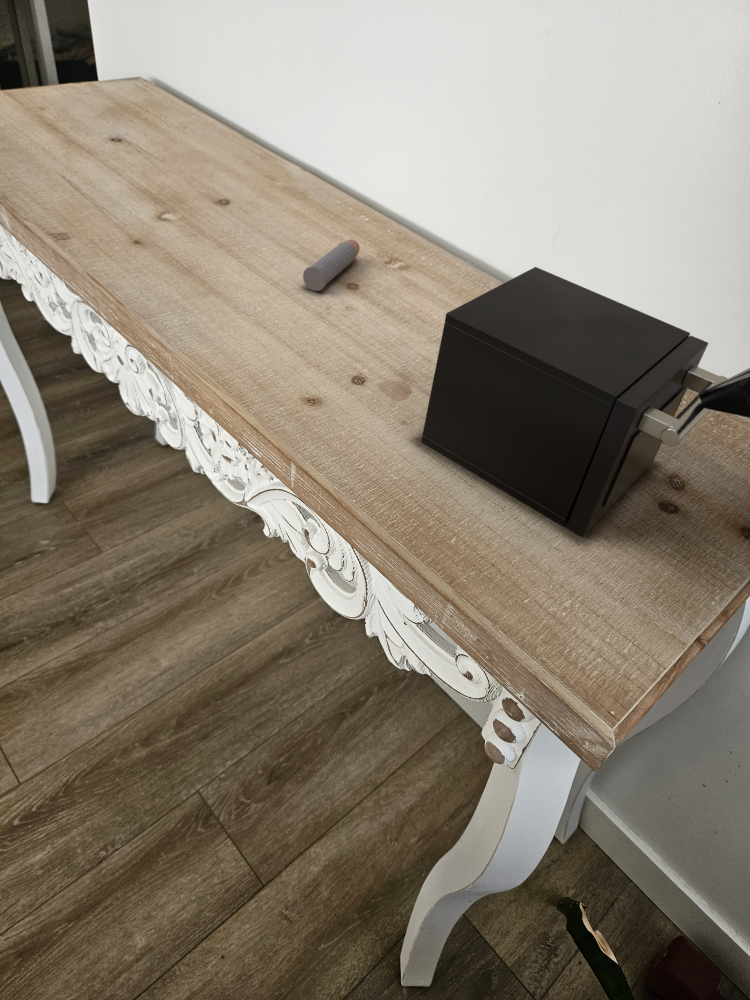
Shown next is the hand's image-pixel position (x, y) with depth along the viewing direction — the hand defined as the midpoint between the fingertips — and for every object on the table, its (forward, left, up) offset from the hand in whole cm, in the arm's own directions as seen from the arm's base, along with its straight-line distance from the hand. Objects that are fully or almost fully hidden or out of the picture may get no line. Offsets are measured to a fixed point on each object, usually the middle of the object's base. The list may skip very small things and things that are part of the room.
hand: (703, 400), depth 53 cm
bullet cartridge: (+38, -31, -12) cm, 50 cm away
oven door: (+1, -1, -12) cm, 12 cm away
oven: (+11, -5, -12) cm, 17 cm away
